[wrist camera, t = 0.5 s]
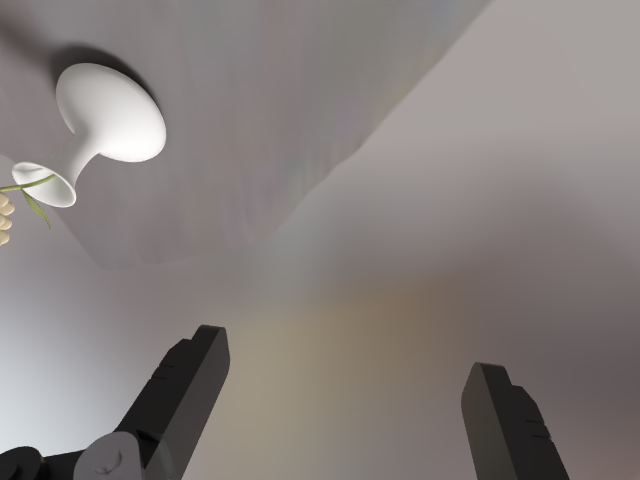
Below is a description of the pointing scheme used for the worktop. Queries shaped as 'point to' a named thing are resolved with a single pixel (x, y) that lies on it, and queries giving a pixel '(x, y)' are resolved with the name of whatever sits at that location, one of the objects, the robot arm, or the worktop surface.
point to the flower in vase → (88, 136)
